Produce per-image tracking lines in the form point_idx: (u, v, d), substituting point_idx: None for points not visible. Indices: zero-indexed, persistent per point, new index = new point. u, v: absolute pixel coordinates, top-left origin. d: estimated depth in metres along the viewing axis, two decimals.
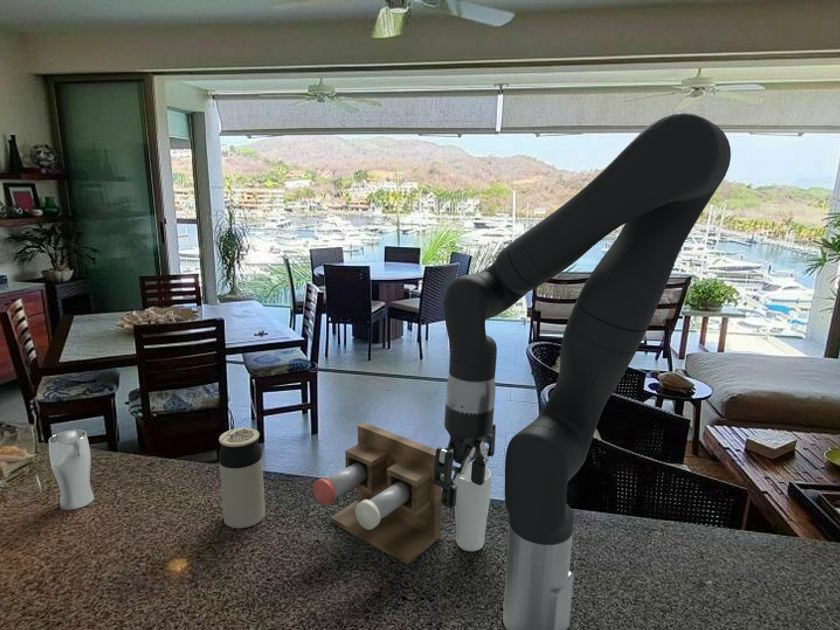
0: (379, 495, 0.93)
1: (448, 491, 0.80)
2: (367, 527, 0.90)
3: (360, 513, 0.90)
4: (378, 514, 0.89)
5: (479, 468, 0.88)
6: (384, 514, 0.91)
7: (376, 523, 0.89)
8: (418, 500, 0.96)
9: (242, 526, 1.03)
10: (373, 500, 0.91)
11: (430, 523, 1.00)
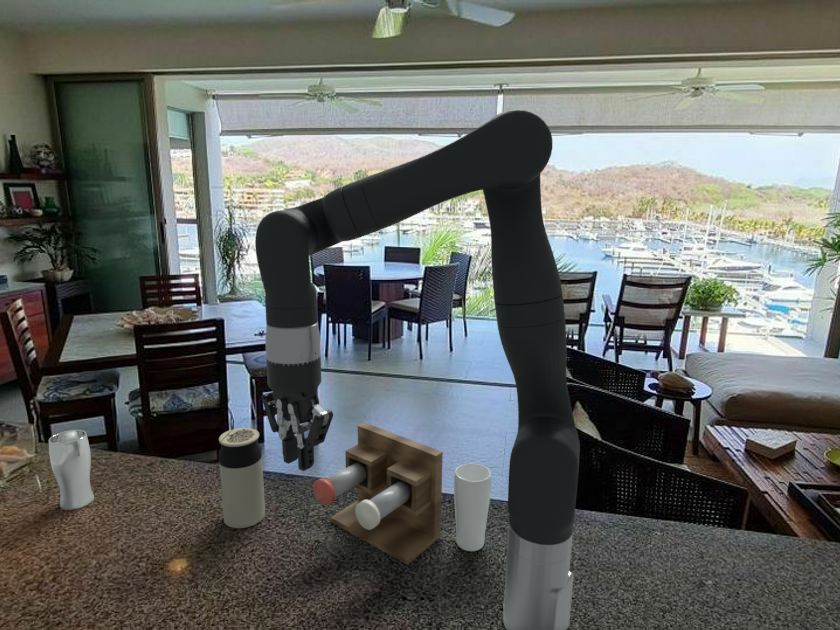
0: (379, 495, 0.93)
1: (312, 449, 0.77)
2: (367, 527, 0.90)
3: (360, 513, 0.90)
4: (378, 514, 0.89)
5: (294, 442, 0.79)
6: (384, 514, 0.91)
7: (376, 523, 0.89)
8: (418, 500, 0.96)
9: (242, 526, 1.03)
10: (373, 500, 0.91)
11: (430, 523, 1.00)
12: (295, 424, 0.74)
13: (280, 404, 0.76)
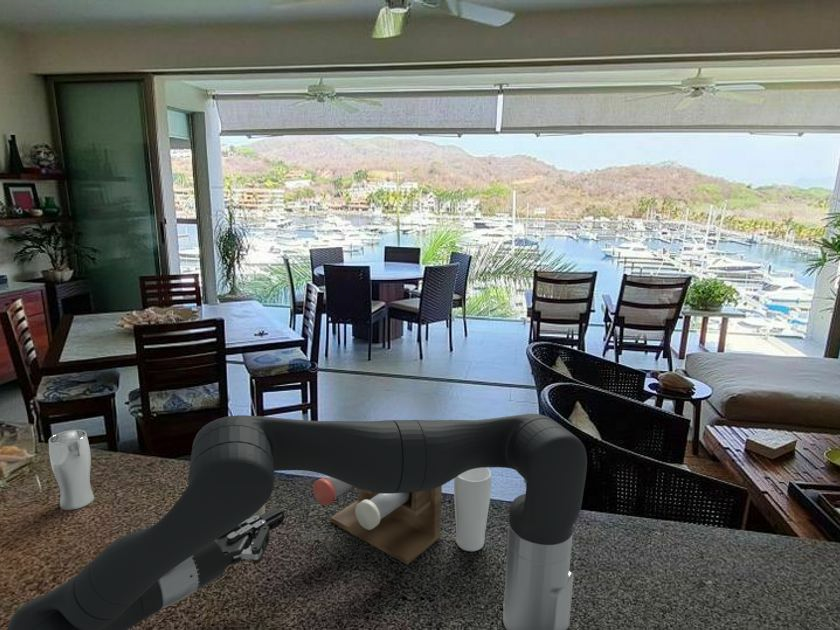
0: (379, 495, 0.93)
1: (270, 523, 0.86)
2: (367, 527, 0.90)
3: (360, 513, 0.90)
4: (378, 514, 0.89)
5: None
6: (384, 514, 0.91)
7: (376, 523, 0.89)
8: (418, 500, 0.96)
9: None
10: (373, 500, 0.91)
11: (430, 523, 1.00)
12: None
13: None
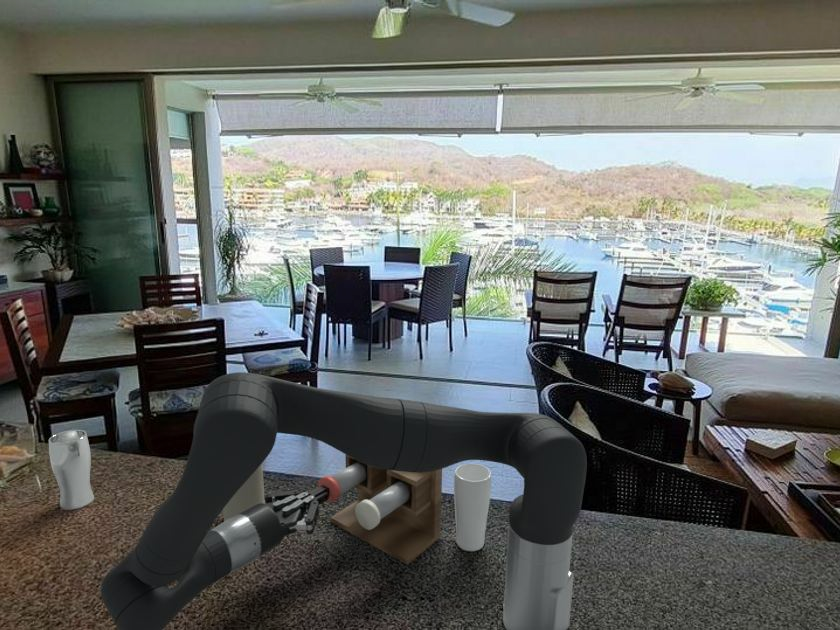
0: (379, 495, 0.93)
1: (318, 499, 0.94)
2: (367, 527, 0.90)
3: (360, 513, 0.90)
4: (378, 514, 0.89)
5: None
6: (384, 514, 0.91)
7: (376, 523, 0.89)
8: (418, 500, 0.96)
9: None
10: (373, 500, 0.91)
11: (430, 523, 1.00)
12: None
13: None
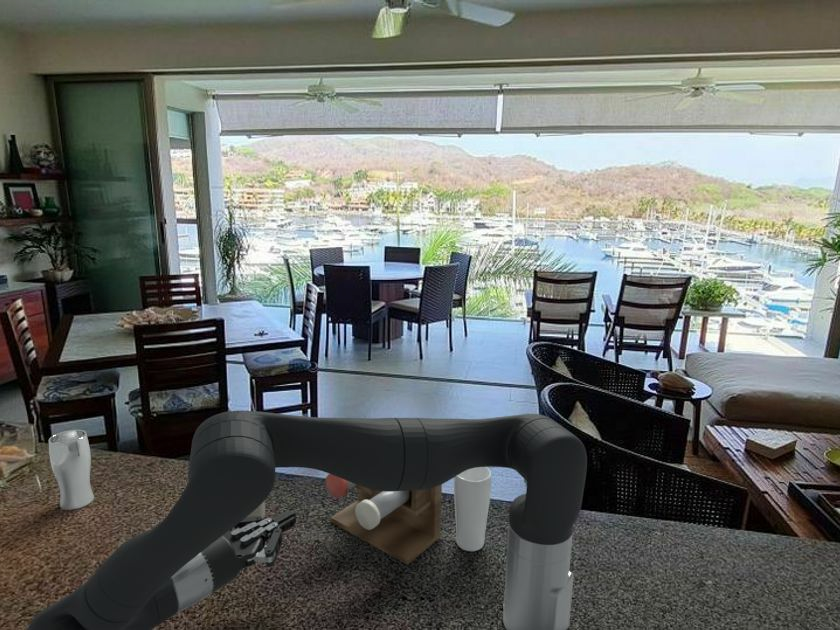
0: (379, 495, 0.93)
1: (282, 526, 0.86)
2: (367, 527, 0.90)
3: (360, 513, 0.90)
4: (378, 514, 0.89)
5: None
6: (384, 514, 0.91)
7: (376, 523, 0.89)
8: (418, 500, 0.96)
9: None
10: (373, 500, 0.91)
11: (430, 523, 1.00)
12: None
13: None
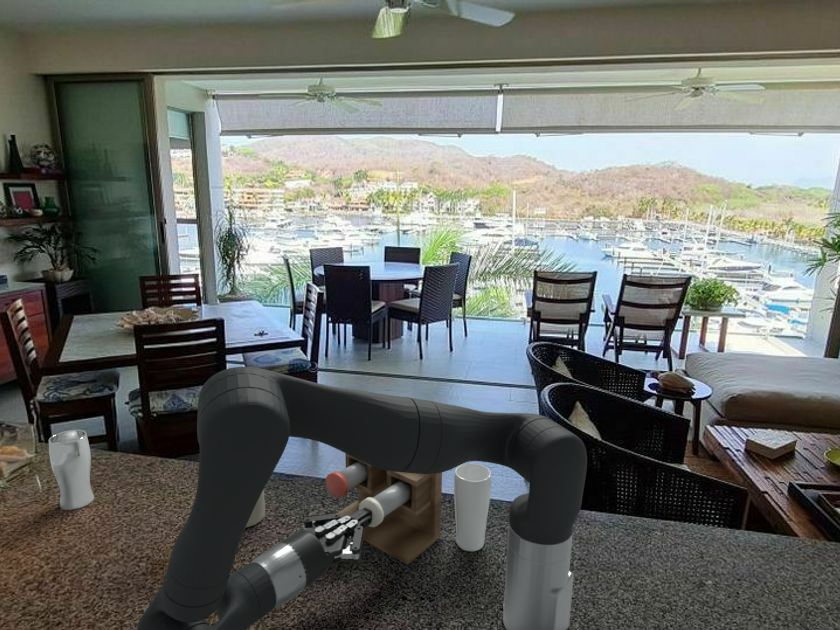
0: (382, 493, 0.93)
1: (361, 523, 0.87)
2: (371, 525, 0.91)
3: None
4: (382, 512, 0.90)
5: None
6: (387, 512, 0.92)
7: (380, 521, 0.90)
8: (418, 500, 0.96)
9: None
10: (376, 498, 0.92)
11: (430, 523, 1.00)
12: None
13: None
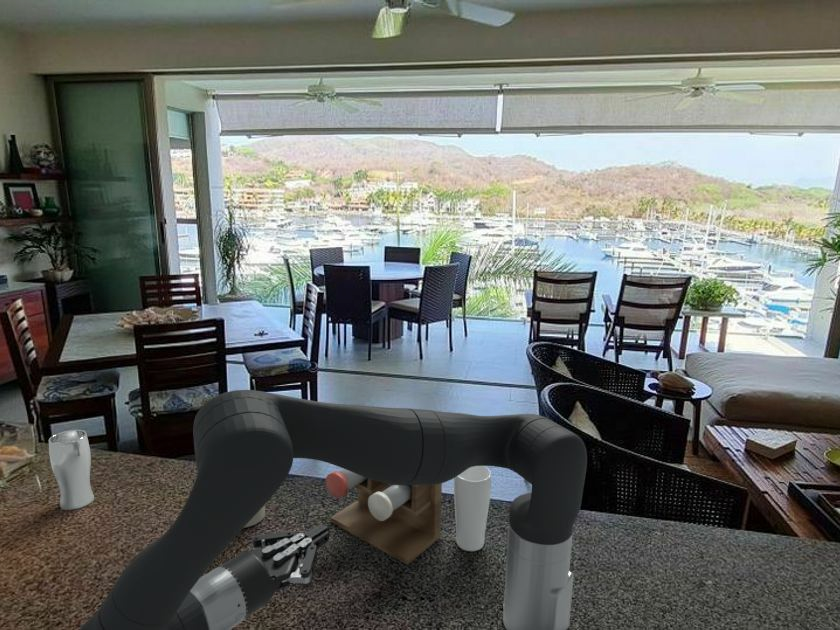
0: (391, 487, 0.95)
1: (316, 541, 0.79)
2: (380, 518, 0.92)
3: (373, 505, 0.93)
4: (390, 506, 0.91)
5: None
6: (396, 506, 0.93)
7: (389, 514, 0.91)
8: (418, 500, 0.96)
9: None
10: (385, 492, 0.94)
11: (430, 523, 1.00)
12: None
13: None
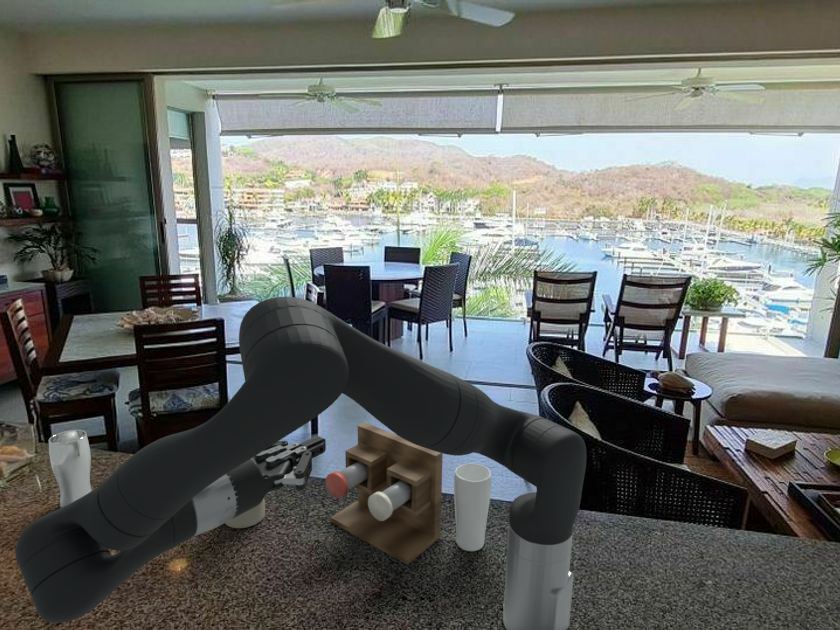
0: (391, 487, 0.95)
1: (311, 450, 0.76)
2: (380, 518, 0.92)
3: (373, 505, 0.93)
4: (390, 506, 0.91)
5: None
6: (396, 506, 0.93)
7: (389, 514, 0.91)
8: (418, 500, 0.96)
9: (242, 526, 1.03)
10: (385, 492, 0.94)
11: (430, 523, 1.00)
12: None
13: None
